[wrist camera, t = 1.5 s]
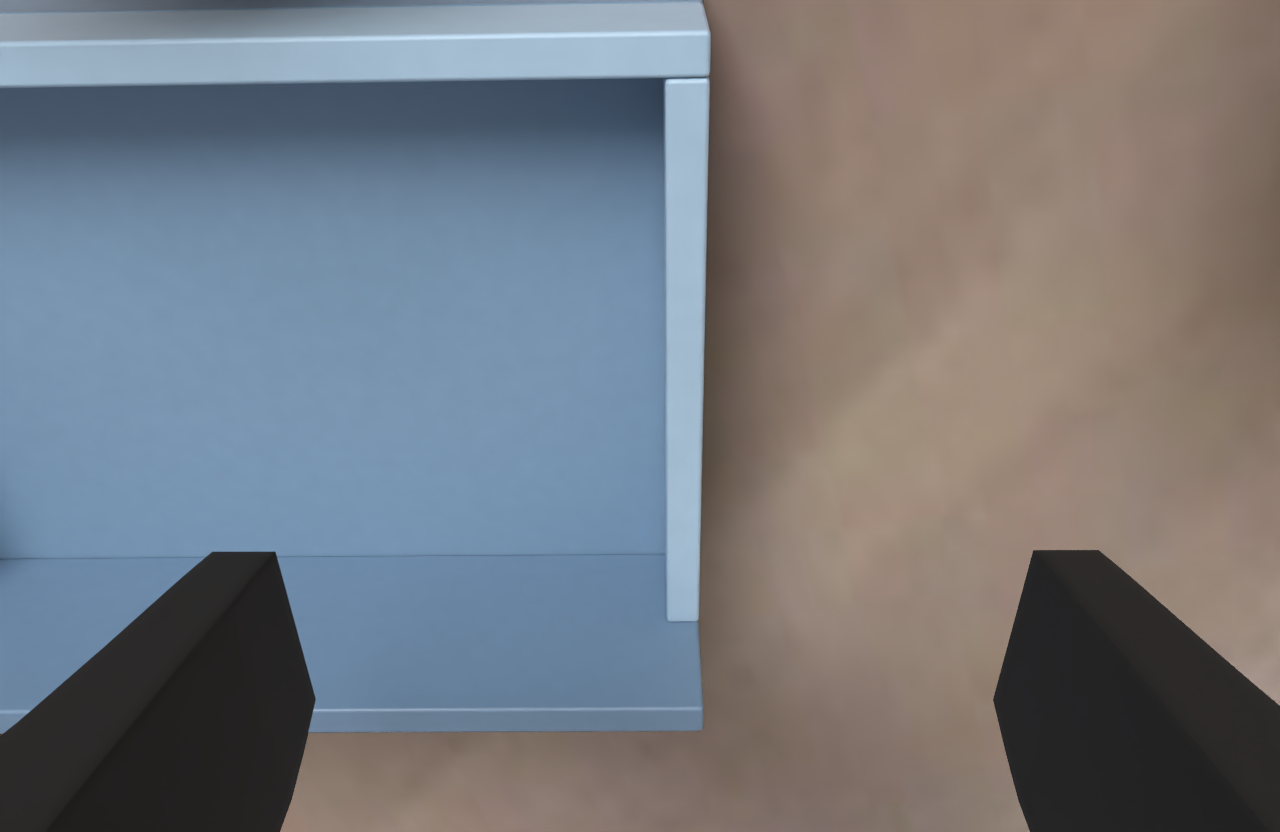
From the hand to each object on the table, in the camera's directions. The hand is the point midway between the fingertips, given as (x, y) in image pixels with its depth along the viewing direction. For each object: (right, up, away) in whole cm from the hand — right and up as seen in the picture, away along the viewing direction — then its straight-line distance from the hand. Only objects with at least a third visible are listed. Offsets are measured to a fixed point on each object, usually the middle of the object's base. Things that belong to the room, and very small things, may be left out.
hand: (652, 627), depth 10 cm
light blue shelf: (-7, +4, +9) cm, 12 cm away
